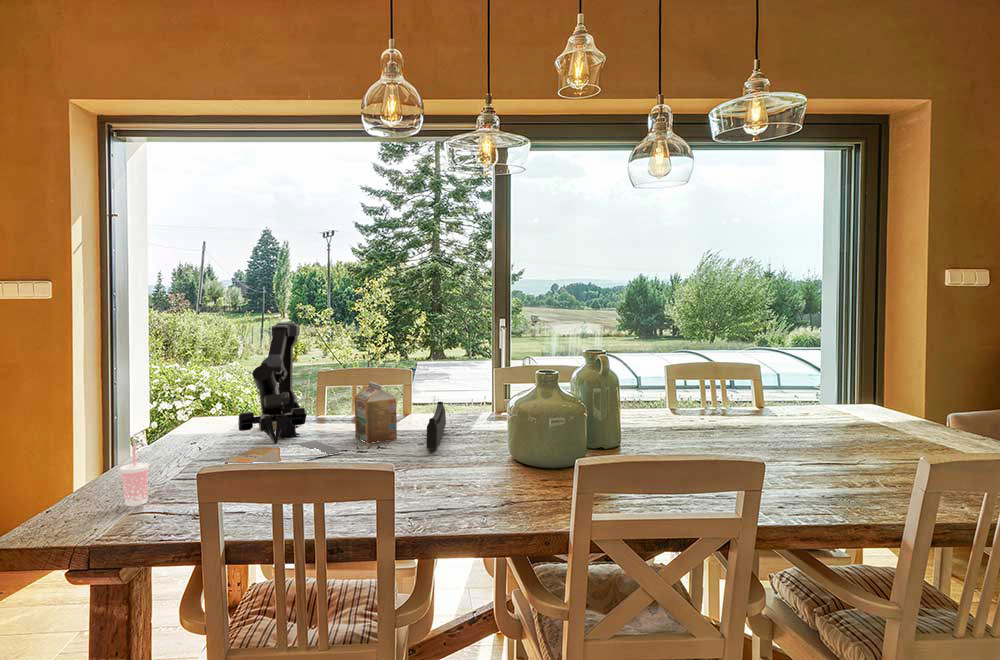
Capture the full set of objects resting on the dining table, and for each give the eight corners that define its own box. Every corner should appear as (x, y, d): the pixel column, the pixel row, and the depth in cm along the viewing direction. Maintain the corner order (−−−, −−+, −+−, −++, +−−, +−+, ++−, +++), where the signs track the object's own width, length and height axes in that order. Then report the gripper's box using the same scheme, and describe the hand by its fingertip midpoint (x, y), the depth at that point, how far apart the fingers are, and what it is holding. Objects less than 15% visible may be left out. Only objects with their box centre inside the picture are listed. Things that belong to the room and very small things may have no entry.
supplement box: (280, 447, 175) (248, 462, 163) (281, 463, 176) (249, 479, 163) (256, 445, 178) (223, 460, 165) (258, 461, 178) (225, 477, 166)
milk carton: (396, 439, 207) (396, 384, 205) (367, 444, 201) (366, 387, 199) (384, 433, 215) (383, 380, 214) (355, 437, 209) (354, 382, 208)
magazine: (435, 426, 187) (444, 383, 215) (424, 426, 187) (435, 383, 215) (437, 473, 193) (446, 425, 221) (427, 473, 193) (437, 425, 221)
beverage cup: (147, 505, 145) (144, 447, 143) (117, 508, 143) (115, 450, 142) (153, 497, 150) (151, 441, 149) (125, 499, 149) (123, 443, 148)
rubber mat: (238, 456, 186) (238, 454, 186) (315, 441, 203) (315, 440, 203) (262, 469, 172) (262, 467, 172) (342, 453, 189) (342, 451, 189)
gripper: (237, 385, 175) (242, 431, 166) (304, 381, 184) (312, 424, 175) (236, 407, 183) (240, 452, 174) (301, 402, 191) (308, 445, 182)
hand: (276, 443), depth 176 cm, fingers closed
